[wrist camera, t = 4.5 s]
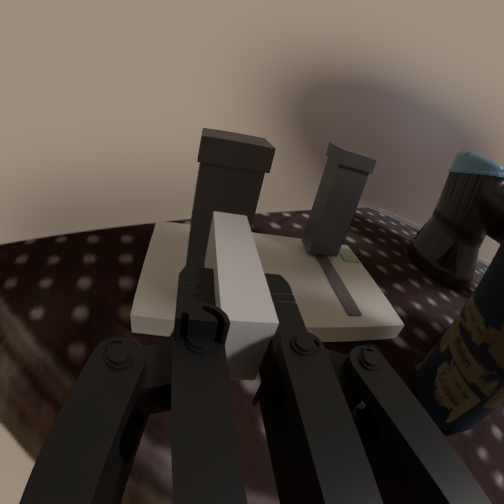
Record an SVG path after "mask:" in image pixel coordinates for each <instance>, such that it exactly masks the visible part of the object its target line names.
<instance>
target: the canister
mask: <svg viewBox="0 0 504 504" xmlns="http://www.w3.org/2000/svg"><path fill="white" fill-rule="evenodd" d="M415 388H416V394H417V397H418V400H419V402H420V404H421V405H422V406H423V408H424V409H425V410H426V412H427V413H428V414H429V416H430V417H431V418H432V420H433V421H434V422H435V424H436V425H438V426H439V427H441V428H442V429H445V430H447V431H451V432H463V431H467V430H469V429H471V428H473V427H474V426H475V425H477V424H478V423H479V422H481V421H482V420H483V419H484V418H485V417H486V416H488V415H489V414H490V413H491V412H492V411H493V410H494V409H496V408H497V407H498V406H499V405H500V404H501V403H502V402H503V401H504V239H503V241H502V243H501V245H500V247H499V249H498V251H497V253H496V255H495V257H494V258H493V260H492V262H491V264H490V265H489V267H488V269H487V271H486V273H485V274H484V276H483V278H482V280H481V281H480V283H479V285H478V286H477V288H476V289H475V291H474V292H473V294H472V295H471V297H470V298H469V300H468V301H467V303H466V304H465V306H464V307H463V308H462V310H461V311H460V313H459V314H458V316H457V317H456V319H455V320H454V321H453V323H452V324H451V325H450V327H449V328H448V329H447V331H446V332H445V333H444V335H443V336H442V338H441V339H440V341H439V342H438V343H437V344H436V346H435V347H434V348H433V349H432V351H431V352H430V353H429V354H428V356H427V357H426V358H425V359H424V361H423V362H422V363H421V365H420V367H419V369H418V371H417V374H416V379H415Z"/></svg>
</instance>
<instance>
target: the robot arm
mask: <svg viewBox="0 0 504 504" xmlns="http://www.w3.org/2000/svg"><path fill="white" fill-rule="evenodd" d="M486 235H488V236H489V237H491V238H492V239H494V240H495V241H497V242H498V243H500V244H501V243H502V241H503V239H504V166H502V165H500V164H499V163H496V162H494V161H492V160H490V159H487V158H485V157H482V156H480V155H476V154H473V153H470V152H465V151H461V152H459V153H457V154H456V156H455V158H454V161H453V163H452V166H451V168H450V169H449V175H448V178H447V180H446V183H445V185H444V188H443V190H442V193H441V195H440V198H439V201H438V203H437V205H436V208H435V210H434V212H433V215H432V217H431V218H430V220H429V221H428V222H427V223H426V224H425V225H424V226H423V227H422V229H421V230H420V231H419V232H418V233H417V235H415V236H414V237H413V238H412V240H411V242H410V244H409V246H408V253H409V255H410V257H411V258H412V260H413V261H414V262H415V263H416V264H417V265H418V266H419V267H420V268H421V269H423V270H424V271H425V272H426V273H428V274H429V275H430V276H432V277H433V278H435V279H436V280H438V281H440V282H442V283H443V284H445V285H447V286H450V287H452V288H456V289H466V288H467V287H468V285H469V284H470V282H471V280H472V278H473V275H474V271H475V266H476V262H477V257H478V252H479V248H480V246H481V244H482V242H483V240H484V238H485V236H486ZM258 372H260V377H261V384H260V386H259V388H258V391H257V393H256V395H255V397H254V399H253V405H256V404H257V402H258V401H260V407H261V412H262V417H263V422H264V427H265V432H266V437H267V442H268V447H269V452H270V457H271V462H272V467H273V472H274V477H275V482H276V486H277V491H278V496H279V500H280V504H492V503H491V502H490V500H489V499H488V497H487V496H486V494H485V493H484V491H483V490H482V488H481V487H480V485H479V484H478V482H477V481H476V479H475V478H474V476H473V475H472V474H471V472H470V471H469V469H468V468H467V466H466V465H465V464H464V462H463V461H462V459H461V458H460V456H459V455H458V454H457V452H456V451H455V449H454V448H453V447H452V445H451V444H450V443H449V441H448V440H447V438H446V437H445V436H444V434H443V433H442V432H441V430H440V429H439V428H438V426H437V425H436V424H435V422H434V421H433V420H432V418H431V417H430V416H429V414H428V413H427V412H426V410H425V409H424V408H423V406H422V405H421V404H420V402H419V401H418V400H417V398H416V397H415V396H414V395H413V393H412V392H411V391H410V389H409V388H408V387H407V386H406V384H405V383H404V382H403V380H402V379H401V378H400V377H399V375H398V374H397V373H396V371H395V370H394V369H393V368H392V366H391V365H390V364H389V363H388V361H387V360H386V359H385V358H384V356H383V355H382V354H381V353H380V352H378V351H377V350H375V349H374V348H372V347H369V346H365V345H362V346H357V347H355V348H353V349H352V351H351V352H350V354H349V355H348V354H344V353H340V352H336V351H331V350H328V349H326V348H325V347H324V345H323V343H322V342H321V340H320V339H319V338H318V337H316V336H315V335H314V334H312V333H310V332H308V331H307V329H306V326H305V323H304V321H303V318H302V316H301V313H300V311H299V308H298V305H297V303H296V300H295V298H294V295H293V293H292V290H291V288H290V285H289V283H288V282H287V281H286V280H285V279H284V278H283V277H282V276H281V275H279V274H269V273H264V271H263V268H262V265H261V261H260V258H259V255H258V251H257V248H256V245H255V242H254V238H253V235H252V232H251V228H250V225H249V222H248V219H247V216H245V215H238V214H231V213H224V212H216V211H213V217H212V222H211V228H210V234H209V239H208V245H207V251H206V257H205V268H202V267H193V266H185V267H184V268H183V270H182V271H181V272H180V273H179V279H178V289H177V300H176V312H175V322H174V330H173V332H172V333H171V335H170V336H169V337H168V338H167V339H166V340H164V341H162V342H160V343H157V344H153V345H148V346H141V347H140V346H139V345H138V343H137V342H135V341H133V340H131V339H129V338H125V337H119V336H118V337H110V338H107V339H105V340H103V341H101V342H100V343H99V344H98V345H97V346H96V347H95V349H94V350H93V352H92V354H91V356H90V357H89V359H88V361H87V362H86V364H85V366H84V368H83V369H82V371H81V373H80V375H79V376H78V378H77V380H76V382H75V384H74V385H73V387H72V389H71V391H70V393H69V395H68V396H67V398H66V400H65V402H64V404H63V406H62V408H61V410H60V412H59V414H58V416H57V418H56V420H55V422H54V424H53V426H52V428H51V430H50V432H49V434H48V436H47V438H46V440H45V443H44V445H43V447H42V449H41V451H40V454H39V456H38V458H37V460H36V463H35V465H34V467H33V470H32V472H31V475H30V477H29V480H28V482H27V485H26V487H25V490H24V492H23V495H22V498H21V501H20V503H19V504H120V503H121V500H122V496H123V493H124V490H125V487H126V483H127V480H128V477H129V474H130V470H131V467H132V464H133V461H134V458H135V455H136V452H137V449H138V446H139V443H140V440H141V437H142V434H143V431H144V428H145V425H146V422H147V419H148V416H149V414H154V413H159V412H164V411H168V410H171V453H172V479H173V496H174V504H247V499H246V493H245V487H244V481H243V475H242V469H241V462H240V456H239V449H238V443H237V436H236V429H235V422H234V414H233V407H232V399H231V392H230V384H229V379H232V380H255V379H256V376H257V374H258ZM361 401H363V402H364V404H365V405H366V407H364V406H361V404H360V402H361Z"/></svg>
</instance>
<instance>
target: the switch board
mask: <svg viewBox="0 0 504 504" xmlns="http://www.w3.org/2000/svg"><path fill="white" fill-rule="evenodd" d="M189 232H190V225H188V224H180V223H171V222H162V221H157V222H156V225H155V228H154V231H153V235H152V238H151V241H150V244H149V247H148V251H147V254H146V258H145V261H144V264H143V268H142V271H141V275H140V279H139V282H138V286H137V290H136V294H135V298H134V302H133V306H132V310H131V314H130V318H131V328H132V332H134V333H141V334H150V335H159V336H168V337H169V336H170V335H171V333H172V332H173V330H174V322H175V312H176V300H177V289H178V279H179V273H180V272H181V271H182V270H183V268H184V267H185V266H186V257H187V248H188V240H189ZM252 235H253V238H254V242H255V245H256V248H257V251H258V255H259V258H260V261H261V265H262V268H263V271H264V273H269V274H279V275H281V276H282V277H283V278H284V279H285V280H286V281H287V282H288V283H289V285H290V288H291V290H292V293H293V295H294V298H295V300H296V303H297V305H298V308H299V311H300V313H301V316H302V318H303V321H304V323H305V326H306V329H307V331H308V332H310V333H312V334H314V335H315V336H316V337H318V338H319V339H320V340H321V342H344V341H363V340H378V339H391V338H396V337H397V335H398V334H399V332H400V331H401V330H402V328H403V327H404V323H403V322H402V320H401V319H400V317H399V316H398V314H397V313H396V311H395V310H394V308H393V307H392V306H391V304H390V303H389V301H388V300H387V298H386V297H385V295H384V294H383V293H382V291H381V290H380V288H379V287H378V286H377V284H376V283H375V281H374V280H373V279H372V277H371V276H370V275H369V273H368V272H367V270H366V269H365V268H364V266H363V265H362V264H361V262H360V261H359V260H358V258H357V257H356V256H355V254H354V253H353V252H352V250H351V249H350V248H349V247H348V245H342V246H341V249H340V251H339V254H338V256H337V257H333V256H325V255H316V254H308V252H307V250H306V248H305V247H304V245H303V243H302V241H301V240H302V239H298V238H291V237H284V236H276V235H269V234H261V233H253V232H252Z"/></svg>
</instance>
